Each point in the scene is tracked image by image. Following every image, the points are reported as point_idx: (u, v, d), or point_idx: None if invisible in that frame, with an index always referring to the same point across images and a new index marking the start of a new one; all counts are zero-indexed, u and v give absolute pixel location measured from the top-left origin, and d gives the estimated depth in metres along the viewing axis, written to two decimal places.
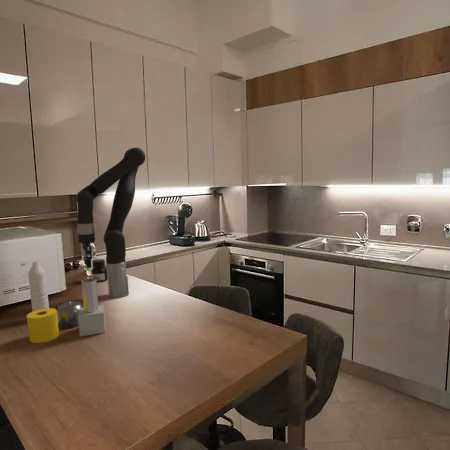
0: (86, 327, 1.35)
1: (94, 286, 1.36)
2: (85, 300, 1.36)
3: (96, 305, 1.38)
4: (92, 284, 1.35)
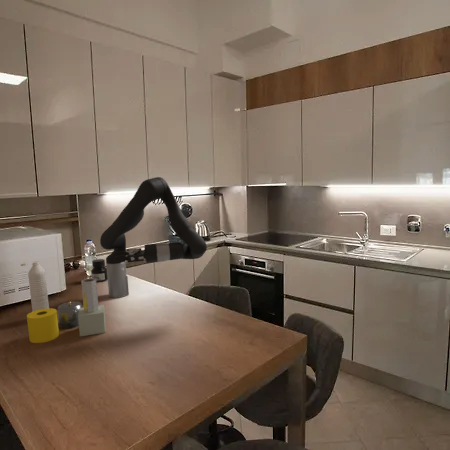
0: (86, 327, 1.35)
1: (94, 286, 1.36)
2: (85, 300, 1.36)
3: (96, 305, 1.38)
4: (92, 284, 1.35)
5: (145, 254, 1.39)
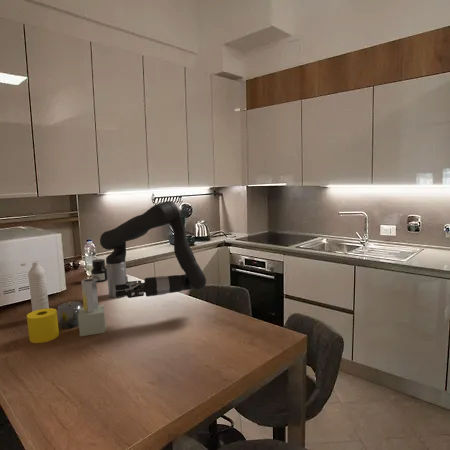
0: (86, 327, 1.35)
1: (94, 286, 1.36)
2: (85, 300, 1.36)
3: (96, 305, 1.38)
4: (92, 284, 1.35)
5: (145, 288, 1.40)
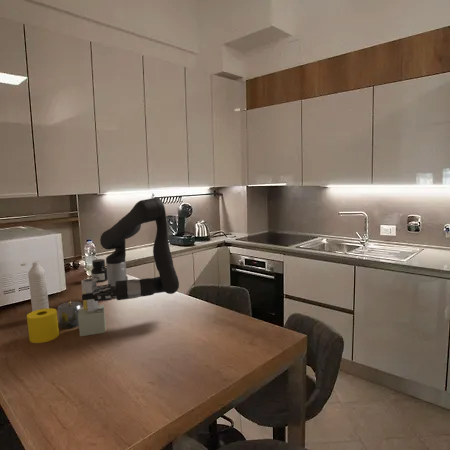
0: (86, 327, 1.35)
1: (94, 286, 1.36)
2: (85, 300, 1.36)
3: (96, 305, 1.38)
4: (92, 284, 1.35)
5: (115, 292, 1.37)
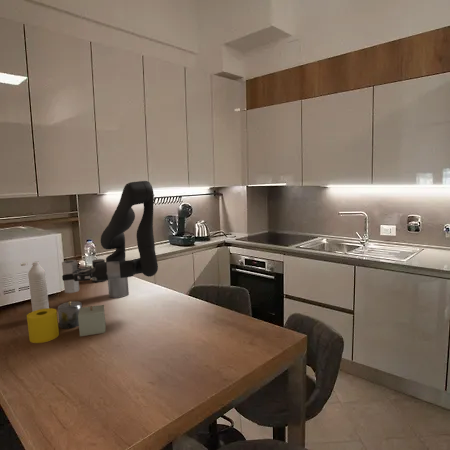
0: (86, 327, 1.35)
1: (74, 267, 1.41)
2: (65, 281, 1.40)
3: (76, 286, 1.42)
4: (72, 265, 1.40)
5: (95, 273, 1.42)
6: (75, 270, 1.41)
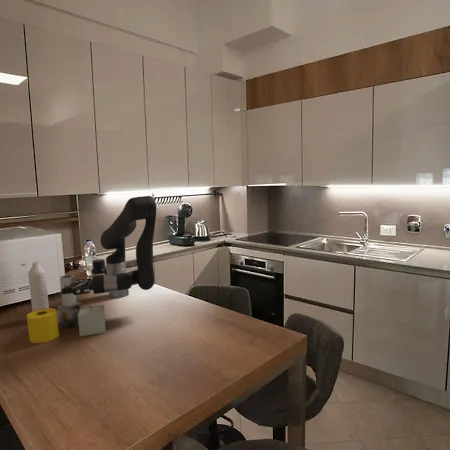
0: (86, 327, 1.35)
1: (72, 282, 1.43)
2: (63, 295, 1.42)
3: (74, 300, 1.44)
4: (70, 280, 1.42)
5: (92, 286, 1.43)
6: (73, 285, 1.43)
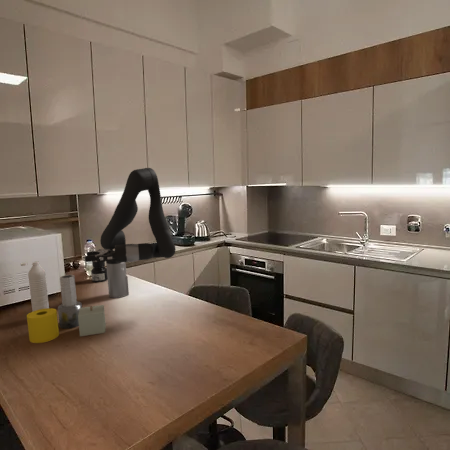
0: (86, 327, 1.35)
1: (72, 282, 1.43)
2: (63, 295, 1.42)
3: (74, 300, 1.44)
4: (70, 280, 1.42)
5: (114, 254, 1.45)
6: (73, 285, 1.43)
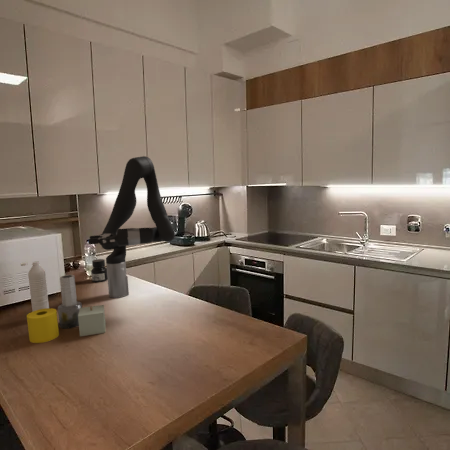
0: (86, 327, 1.35)
1: (72, 282, 1.43)
2: (63, 295, 1.42)
3: (74, 300, 1.44)
4: (70, 280, 1.42)
5: (117, 237, 1.51)
6: (73, 285, 1.43)
